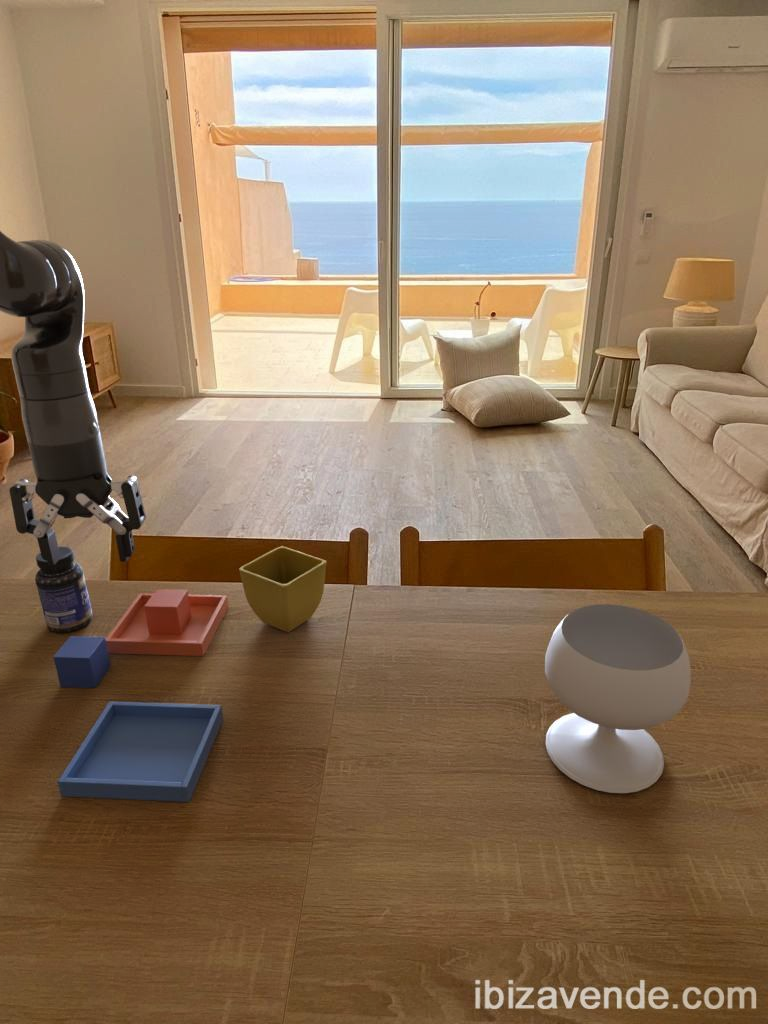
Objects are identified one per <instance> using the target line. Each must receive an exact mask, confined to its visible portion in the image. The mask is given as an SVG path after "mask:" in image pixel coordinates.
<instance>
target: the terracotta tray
mask: <svg viewBox="0 0 768 1024" xmlns="http://www.w3.org/2000/svg"><path fill="white" fill-rule="evenodd" d="M152 595H153V593H146V592H145V593H141V592H139V593H138V595H137V596H136V597H135V598H134V600H133V601H132V603H131V604H130V605H129V606H128V608H127V609H126V611H125V612H124V613H123V614H122V616H121V617H120V619H119V620H118V621H117V622H116V624H115V625H114V626H113V628H112V629H111V630H110V631H109V633H108V635H107V636H106V637H105V640H106V645H107V650H108V654H114V655H115V654H117V655H118V654H119V655H121V654H122V655H125V654H126V655H149V656H150V655H151V656H154V655H155V656H186V657H187V656H189V657H204V656H205V654H206V652H207V650H208V648H209V646H210V644H211V642H212V640H213V638H214V636H215V634H216V632H217V630H218V629H219V627H220V624H221V622H222V621H223V618H224V616H225V615H226V613H227V611H228V608H229V601H228V595H227V594H189V593H188V598H189V605H190V611H191V619H190V620H189V622H188V624H187V626H186V627H185V629H184V631H183V633H182V634H181V635H158V634H149V630H148V625H147V619H146V614H145V608H144V606H145V605H146V603H147V602H148V600H149V599H150V598H151V596H152Z"/></svg>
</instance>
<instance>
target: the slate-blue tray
mask: <svg viewBox="0 0 768 1024" xmlns="http://www.w3.org/2000/svg"><path fill="white" fill-rule="evenodd" d="M223 721H224V715H223V707H222V705H221V704H220V705H219V704H197V703H196V704H195V703H167V702H165V703H164V702H141V701H140V702H136V701H111V700H110V701H109V702H108V703H107V704H106V706H105V708H104V709H103V710H102V712H101V714H100V716H99V717H98V719H97V720H96V722H95V723H94V725H93V726H92V727H91V729H90V731H88V734H87V735H86V737H85V738H84V740H83V741H82V743H81V744H80V746H79V747H78V749H77V751H75V752H76V753H75V754H74V755H73V757H72V759H71V760H70V762H69V763H68V765H66V766H67V767H65V768H64V769H65V770H63V773H62V774H61V776H60V777H59V779H58V780H57V786H58V789H59V792H60V796H61V797H65V798H66V797H67V798H87V799H88V798H91V799H111V800H131V801H132V800H134V801H135V800H136V801H156V802H157V801H159V802H181V803H182V802H183V803H190V801H191V799H192V797H193V794H194V793H195V789H196V787H197V784H198V782H199V779H200V777H201V775H202V772H203V769H204V767H205V764H206V762H207V760H208V757H209V755H210V752H211V750H212V747H213V745H214V743H215V740H216V738H217V736H218V733H219V731H220V728H221V725H222V723H223Z"/></svg>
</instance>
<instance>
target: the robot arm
mask: <svg viewBox="0 0 768 1024" xmlns="http://www.w3.org/2000/svg"><path fill="white" fill-rule="evenodd" d="M83 282H84V281H83V278H82V275H81V272H80V269H79V267H78V265H77V263H76V261H75V259H74V258H73V256H72V255H71V254H70V252H68V250H67V249H66V248H64V247H63V246H62V245H60V244H59V243H57V242H54V241H52V240H47V239H32V240H31V239H30V240H23V241H16V240H14V239H12V238H10V237H8V236H7V235H6V234H5V233H3V232H2V231H1V230H0V312H1V313H4V314H5V315H8V316H12V317H16V318H24V331H23V334H22V336H21V337H20V338H19V339H18V340H17V341H16V342H15V343H14V344H13V345H12V347H11V351H10V356H11V364H12V369H13V372H14V378H15V382H16V386H17V391H18V395H19V400H20V410H21V420H22V424H23V432H24V435H25V437H26V441H27V445H28V449H29V454H30V459H31V462H32V466H33V471H34V475H35V477H36V481H28V480H27V479H25V478H20V479H19V480H17V481H16V482H15V483H14V484H13V485H12V486H11V487H10V488H9V496H10V501H11V502H10V503H11V506H12V513H13V517H14V523H15V528H16V531H17V532H18V533H19V534H21V535H24V534H26V533H27V534H30V535H33V536H34V537H35V538H36V539H37V543H38V548H39V553H40V552H41V556H42V558H43V559H44V560H47V563H48V565H55V564H56V563H57V562H58V560H59V559H60V552H59V548H58V547H59V544H58V539H57V535H56V530H55V529H54V530H53V529H52V527H53V525H54V524H55V522H56V520H57V518H58V517H59V516H60V517H63V519H73V518H84V519H88V518H89V519H90V518H92V517H96V518H97V519H98V521H100V523H102V524H106V525H108V527H110V528H111V529H112V530H113V531H114V532H115V533H116V534H115V541H116V547H117V552H118V556H119V561H120V563H126V562H127V563H128V561H129V559H130V558H131V557H132V556H133V554H134V552H135V548H136V546H135V541H134V535H133V530H139V529H140V528H141V527H142V525H143V524H144V522H145V520H146V518H147V515H146V511H145V507H144V506H145V505H144V502H143V498H142V493H141V490H140V485H139V481H138V478H137V476H135V475H134V474H129V475H128V476H127V477H126V478H122V479H120V478H119V479H112V478H111V477H110V475H109V474H108V469H107V462H106V458H105V451H104V446H103V439H102V435H101V430H100V424H99V419H98V413H97V410H96V406H95V402H94V400H93V397H92V394H91V389H90V386H89V385H90V384H89V380H88V373H87V369H86V364H85V359H84V355H83V340H84V328H85V327H84V323H85V321H84V320H85V289H84V283H83ZM113 491H114V492H115V493H117V495H118V497H119V498H120V499H123V501H124V506H125V510H126V513H127V514H125V512H124V511H122V510H121V508H120V506H119V504H118V503H117V502H116V501H115V500H114V499H113V498H111V497H110V495H111V493H112V492H113ZM36 495H37V496H38V498H40V499H41V500H42V501H43V502H44V503H45V504H46V505H47V507H46V508H45V510H44V512H43V513H42V515H41V516H40V519H37V518H36V517H35V509H34V504H33V500H34V498H35V496H36Z"/></svg>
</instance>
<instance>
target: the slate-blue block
mask: <svg viewBox="0 0 768 1024" xmlns="http://www.w3.org/2000/svg"><path fill="white" fill-rule="evenodd" d="M105 639H106V637H105V636H86V635H85V636H81V635H80V636H79V635H71V636H69V637H68V639H66V641H65V643H64V644H63V645H62V646H61V647H60V648H59V649H58V650H57V652H56V653H55V654H54V655H53V657H52V659H53V662H54V666H55V670H56V674H57V678H58V682H59V686H60V688H80V689H81V688H83V689H84V688H86V689H96V688H97V687H98V685H99V684H100V683H101V681H102V680H103V678H104V677H105V675H106V674H107V673H108V671H109V670H110V668H111V667H112V665H111V659H110V653H108V650H107V645H106V640H105Z"/></svg>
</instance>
